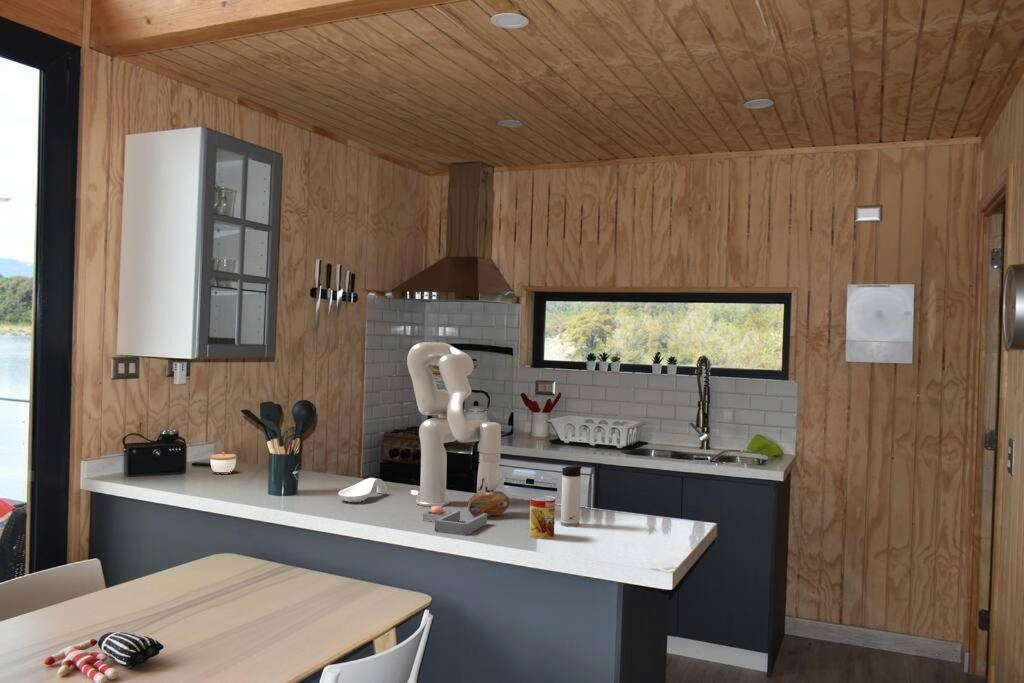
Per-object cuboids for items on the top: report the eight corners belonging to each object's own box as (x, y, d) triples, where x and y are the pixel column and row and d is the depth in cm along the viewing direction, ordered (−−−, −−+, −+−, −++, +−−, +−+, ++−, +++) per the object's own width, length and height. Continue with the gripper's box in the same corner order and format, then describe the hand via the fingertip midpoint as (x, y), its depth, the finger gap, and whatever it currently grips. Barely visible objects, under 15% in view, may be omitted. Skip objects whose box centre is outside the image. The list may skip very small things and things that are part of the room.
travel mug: (574, 527, 268) (576, 467, 268) (557, 525, 271) (559, 465, 271) (583, 524, 273) (585, 465, 273) (566, 521, 277) (567, 463, 277)
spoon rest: (357, 506, 293) (358, 486, 293) (331, 502, 298) (332, 483, 298) (394, 495, 315) (394, 477, 315) (369, 492, 320) (369, 474, 320)
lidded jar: (230, 470, 360) (230, 449, 360) (239, 474, 351) (240, 452, 351) (206, 472, 353) (206, 451, 353) (215, 476, 344) (215, 454, 344)
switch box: (422, 520, 272) (422, 513, 272) (431, 516, 278) (432, 509, 278) (441, 523, 269) (441, 515, 269) (450, 518, 276) (450, 511, 276)
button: (428, 514, 273) (429, 507, 273) (434, 512, 276) (434, 505, 276) (439, 516, 271) (439, 508, 271) (444, 513, 275) (444, 506, 275)
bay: (434, 531, 257) (434, 520, 257) (456, 520, 274) (456, 510, 274) (466, 535, 254) (466, 524, 254) (486, 524, 270) (487, 513, 270)
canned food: (552, 539, 251) (553, 501, 251) (527, 537, 253) (528, 499, 253) (555, 533, 259) (556, 496, 259) (531, 532, 260) (532, 494, 260)
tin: (468, 518, 278) (472, 496, 275) (464, 513, 280) (468, 492, 278) (507, 515, 285) (511, 494, 282) (503, 510, 287) (507, 489, 285)
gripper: (487, 454, 294) (485, 504, 294) (471, 459, 280) (470, 512, 280) (506, 455, 291) (505, 506, 291) (492, 461, 277) (490, 514, 277)
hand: (488, 509), depth 285 cm, fingers closed
